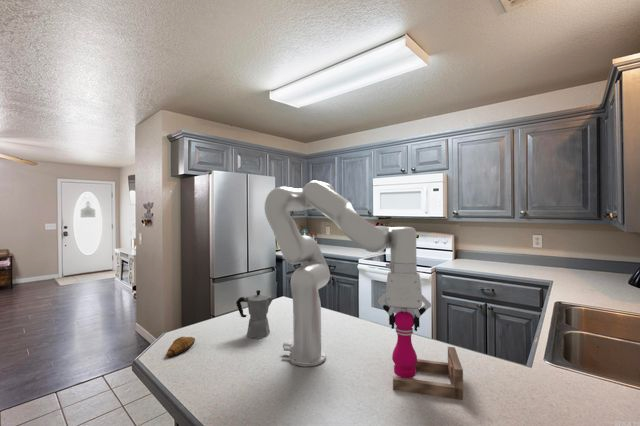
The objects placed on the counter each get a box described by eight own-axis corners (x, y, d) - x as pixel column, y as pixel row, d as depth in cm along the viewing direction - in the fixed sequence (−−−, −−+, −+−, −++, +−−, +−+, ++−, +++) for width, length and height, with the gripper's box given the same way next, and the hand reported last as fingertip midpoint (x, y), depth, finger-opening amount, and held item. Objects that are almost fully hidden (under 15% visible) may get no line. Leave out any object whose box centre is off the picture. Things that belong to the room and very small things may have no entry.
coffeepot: (273, 328, 131) (273, 286, 131) (275, 337, 122) (275, 292, 122) (237, 331, 128) (236, 288, 128) (235, 340, 118) (235, 294, 118)
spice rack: (392, 389, 85) (392, 361, 85) (394, 365, 98) (394, 340, 98) (463, 400, 80) (462, 369, 80) (454, 373, 93) (454, 347, 93)
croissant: (176, 359, 103) (176, 345, 103) (160, 357, 105) (159, 343, 105) (201, 343, 116) (201, 330, 116) (186, 341, 118) (186, 328, 118)
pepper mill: (418, 380, 86) (418, 310, 86) (392, 378, 88) (392, 309, 88) (416, 368, 93) (415, 303, 93) (391, 366, 95) (391, 302, 95)
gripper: (373, 269, 89) (373, 330, 89) (435, 271, 85) (436, 336, 85) (375, 265, 97) (376, 321, 97) (433, 267, 92) (433, 326, 92)
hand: (404, 327), depth 91 cm, fingers closed on pepper mill, 6 cm apart
